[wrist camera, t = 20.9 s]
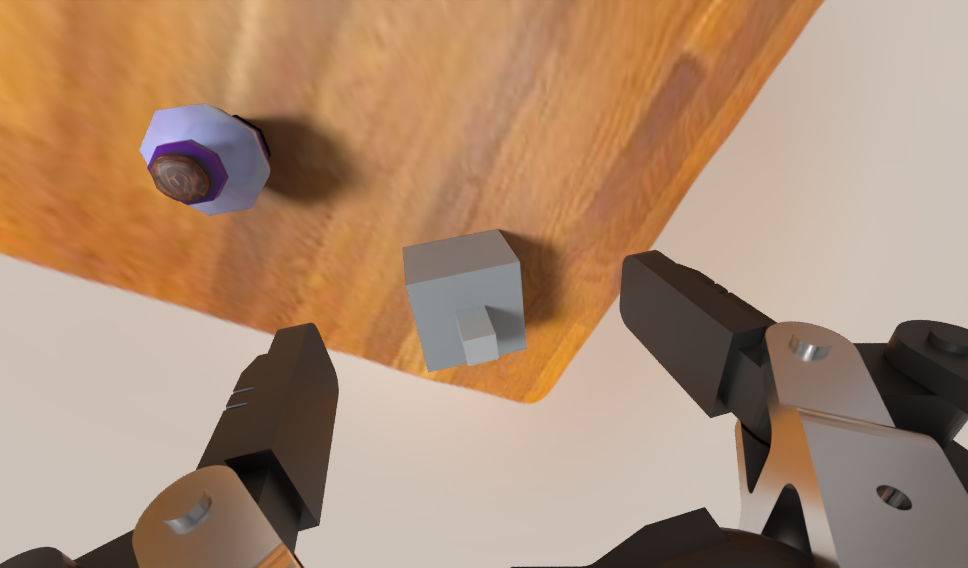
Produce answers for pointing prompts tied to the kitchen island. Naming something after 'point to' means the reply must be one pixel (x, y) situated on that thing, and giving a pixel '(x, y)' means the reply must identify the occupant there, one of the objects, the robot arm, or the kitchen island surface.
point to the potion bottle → (206, 158)
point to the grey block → (465, 299)
